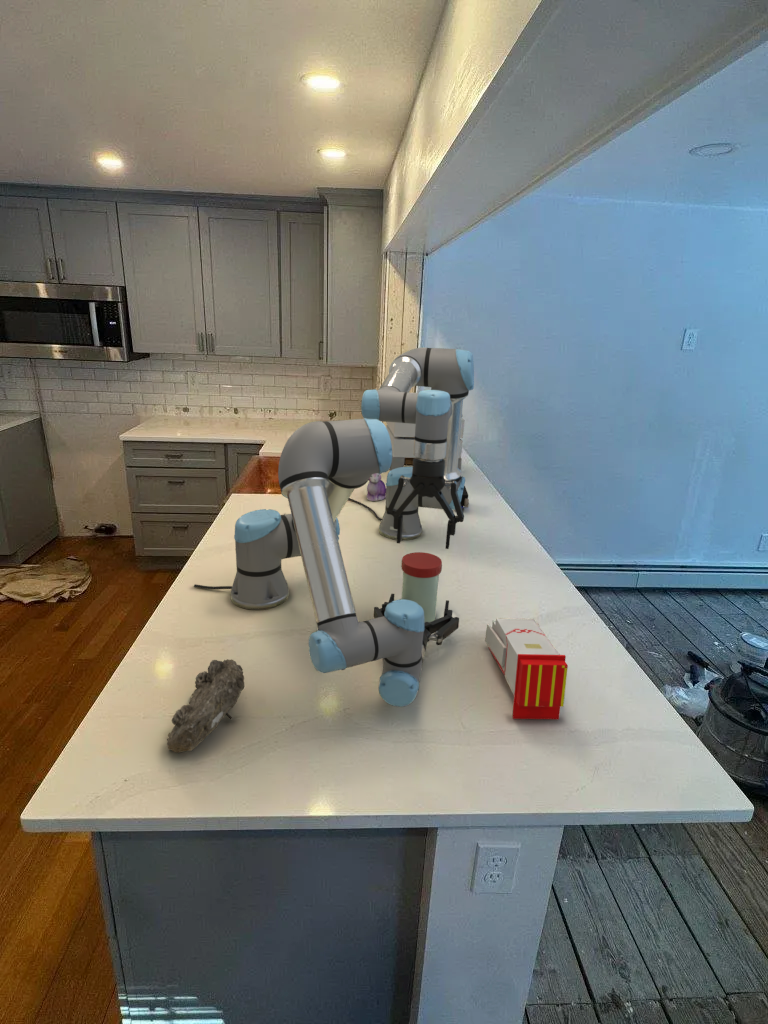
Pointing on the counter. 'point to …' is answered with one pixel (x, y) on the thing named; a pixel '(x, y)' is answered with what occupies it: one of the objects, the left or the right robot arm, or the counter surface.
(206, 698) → the fossil
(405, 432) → the grey slatted crate
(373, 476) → the figurine
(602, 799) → the counter surface
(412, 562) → the lid
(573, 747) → the counter surface
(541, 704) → the toy
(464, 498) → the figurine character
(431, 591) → the jar
